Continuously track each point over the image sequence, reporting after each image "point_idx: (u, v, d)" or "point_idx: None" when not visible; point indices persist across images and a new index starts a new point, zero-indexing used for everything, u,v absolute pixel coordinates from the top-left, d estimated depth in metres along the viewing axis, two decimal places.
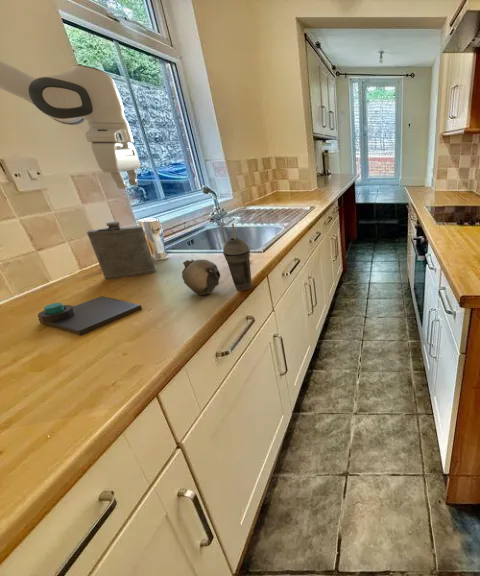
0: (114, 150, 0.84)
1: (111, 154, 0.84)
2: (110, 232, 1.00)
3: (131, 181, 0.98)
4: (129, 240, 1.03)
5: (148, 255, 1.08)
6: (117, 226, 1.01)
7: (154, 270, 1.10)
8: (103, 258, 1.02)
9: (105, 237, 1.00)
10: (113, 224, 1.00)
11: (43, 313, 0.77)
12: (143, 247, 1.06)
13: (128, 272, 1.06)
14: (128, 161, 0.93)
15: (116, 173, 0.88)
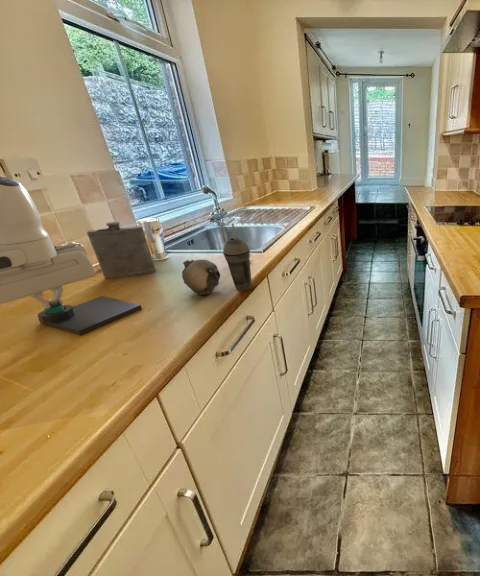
0: None
1: None
2: (110, 232, 1.00)
3: None
4: (129, 240, 1.03)
5: (148, 255, 1.08)
6: (117, 226, 1.01)
7: (154, 270, 1.10)
8: (103, 258, 1.02)
9: (105, 237, 1.00)
10: (113, 224, 1.00)
11: (43, 313, 0.77)
12: (143, 247, 1.06)
13: (128, 272, 1.06)
14: (48, 279, 0.75)
15: (33, 295, 0.74)
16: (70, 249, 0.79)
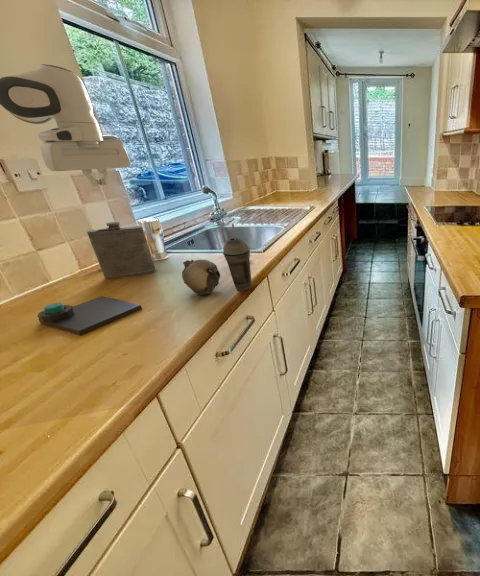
0: (53, 149, 0.84)
1: (49, 153, 0.83)
2: (110, 232, 1.00)
3: None
4: (129, 240, 1.03)
5: (148, 255, 1.08)
6: (117, 226, 1.01)
7: (154, 270, 1.10)
8: (103, 258, 1.02)
9: (105, 237, 1.00)
10: (113, 224, 1.00)
11: (43, 313, 0.77)
12: (143, 247, 1.06)
13: (128, 272, 1.06)
14: (96, 160, 0.93)
15: (84, 171, 0.92)
16: (112, 140, 0.97)
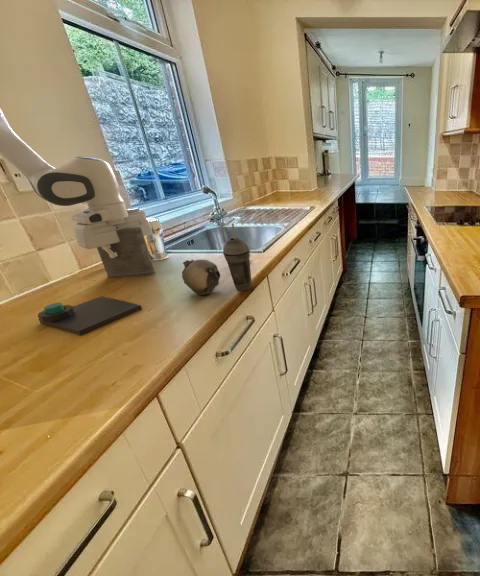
0: (85, 231, 0.93)
1: (82, 235, 0.93)
2: None
3: None
4: (126, 240, 1.02)
5: (145, 257, 1.06)
6: None
7: (152, 272, 1.08)
8: (104, 257, 1.03)
9: None
10: None
11: (43, 313, 0.77)
12: (141, 249, 1.04)
13: (126, 272, 1.06)
14: None
15: (103, 246, 0.99)
16: (135, 213, 1.06)
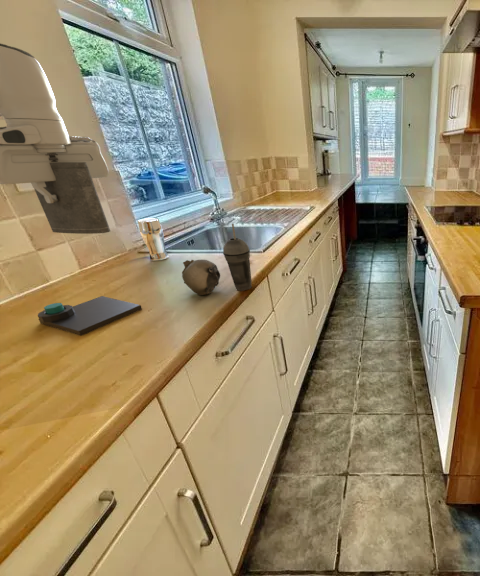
0: None
1: None
2: None
3: None
4: (64, 179, 0.71)
5: (92, 207, 0.73)
6: (50, 157, 0.69)
7: (103, 230, 0.76)
8: (43, 202, 0.74)
9: None
10: None
11: (43, 313, 0.77)
12: (84, 194, 0.72)
13: (70, 226, 0.75)
14: None
15: (35, 184, 0.69)
16: (84, 143, 0.75)
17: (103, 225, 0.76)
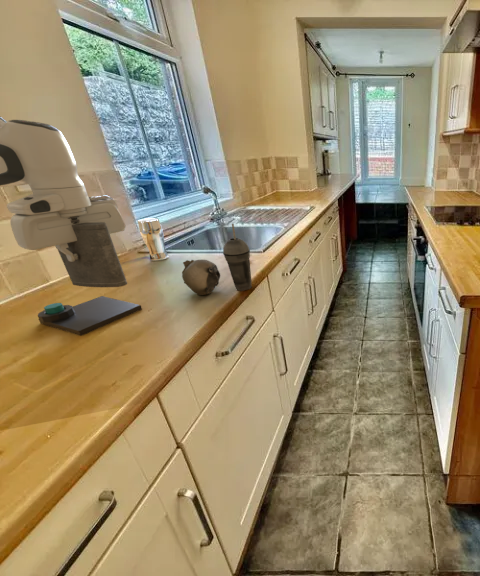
0: (25, 225, 0.66)
1: (21, 230, 0.66)
2: None
3: None
4: (85, 240, 0.75)
5: (111, 263, 0.77)
6: (72, 220, 0.74)
7: (120, 284, 0.80)
8: (64, 259, 0.78)
9: None
10: None
11: (43, 313, 0.77)
12: (103, 252, 0.76)
13: (90, 281, 0.79)
14: None
15: (58, 245, 0.73)
16: (103, 202, 0.80)
17: (121, 279, 0.80)
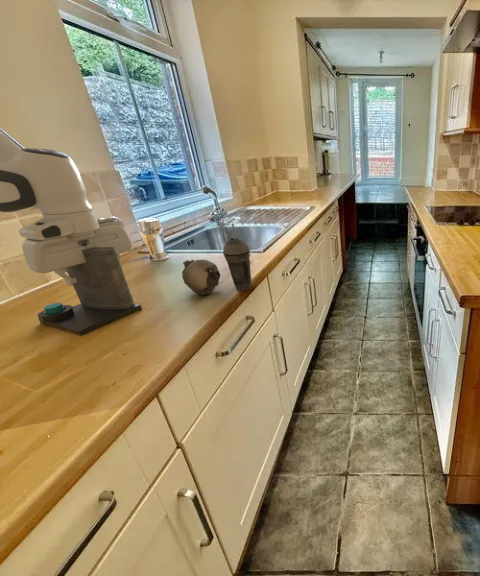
0: (37, 250, 0.68)
1: (33, 255, 0.68)
2: None
3: None
4: (94, 264, 0.77)
5: (119, 286, 0.80)
6: (82, 245, 0.76)
7: (128, 306, 0.82)
8: None
9: None
10: None
11: (43, 313, 0.77)
12: (112, 276, 0.79)
13: (98, 303, 0.82)
14: None
15: (57, 270, 0.73)
16: (110, 223, 0.82)
17: (129, 301, 0.82)
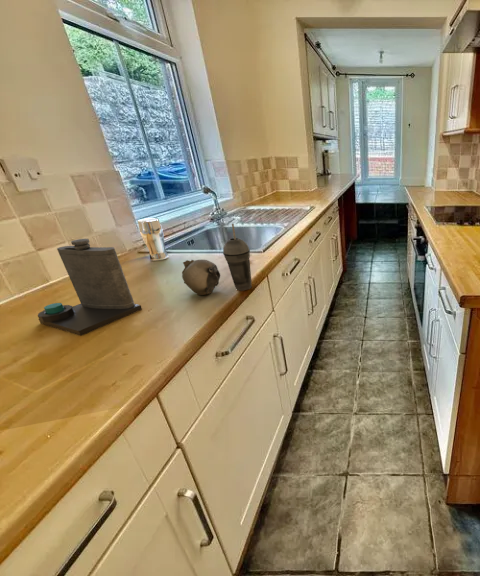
0: None
1: None
2: (74, 252, 0.76)
3: None
4: (94, 264, 0.77)
5: (119, 286, 0.80)
6: (82, 245, 0.76)
7: (128, 306, 0.82)
8: (74, 282, 0.80)
9: (70, 257, 0.77)
10: (75, 243, 0.75)
11: (43, 313, 0.77)
12: (112, 276, 0.79)
13: (98, 303, 0.82)
14: None
15: None
16: None
17: (129, 301, 0.82)
